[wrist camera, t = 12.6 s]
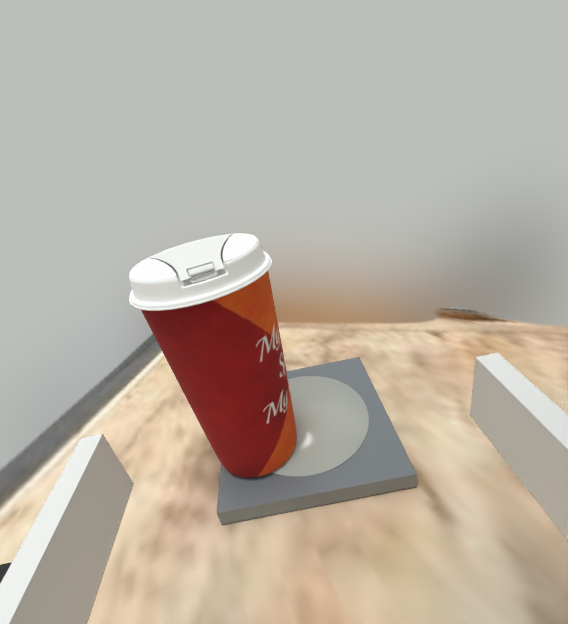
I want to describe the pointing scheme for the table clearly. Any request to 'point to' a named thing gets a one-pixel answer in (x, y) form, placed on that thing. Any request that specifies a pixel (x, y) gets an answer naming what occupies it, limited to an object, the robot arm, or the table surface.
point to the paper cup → (223, 345)
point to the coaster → (325, 449)
